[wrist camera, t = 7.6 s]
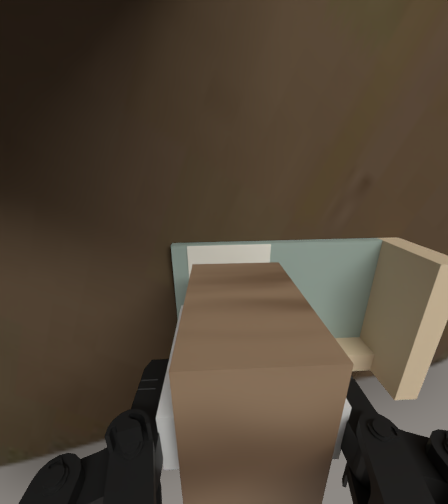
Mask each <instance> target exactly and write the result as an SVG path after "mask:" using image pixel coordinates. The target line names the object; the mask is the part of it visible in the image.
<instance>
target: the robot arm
mask: <svg viewBox="0 0 448 504" xmlns="http://www.w3.org/2000/svg"><path fill="white" fill-rule="evenodd" d="M182 310H183V305H181V309H180V313H179V317H178V322H177V326H176V331H175V335H174V340H173V344H172V348H171V353H170V357H169V359H161V360H151V362H150V363H149V364H148V365H147V367H146V368H145V369H144V372H143V375H142V378H141V382H140V384H139V387H138V391H137V393H136V396H135V399H134V402H133V404H132V407H131V409H130V410H127V411H125V412H123V413H121V414H120V415H119V416H117V417H116V418H115V419H114V420H113V421H112V423H111V424H110V425H109V427H108V428H107V431H106V434H105V440H106V443H107V448H105V449H104V450H101V451H99V452H97V453H94V454H92V455H90V456H87V457H85V458H82V459H80V458H79V457H77V455H76V454H71V453H66V454H62V455H59V456H57V457H55V458H54V459H52V460H50V461H49V462H48V463H47V464H46V465H45V466H43V467H42V468H41V469H40V470H39V471H38V473H37V474H36V476H35V477H34V478H33V480H32V481H31V483H30V485H29V486H28V488H27V490H26V492H25V493H24V495H23V497H22V499H21V500H20V502H19V504H162V496H161V483H160V476H161V470H162V464H163V468H164V470H174V469H179V460H178V451H177V442H176V433H175V424H174V415H173V406H172V397H171V388H170V379H169V369H170V364H171V359H172V355H173V350H174V346H175V341H176V337H177V332H178V328H179V323H180V319H181V314H182ZM341 449H342V451H343V454H344V456H345V458H346V460H347V464H346V467H345V471H344V475H343V478H342V483H343V487H346V485H347V482H348V483H349V488H350V492H351V496H352V500H353V504H448V431H446V430H439V429H438V430H435V431H432V434H431V436H430V438H428V437H424V436H420V435H416V434H413V433H409V432H405V431H403V430H400V429H398V428H397V427H396V426H395V425H394V424H393V423H392V422H391V421H390V420H389V419H387V418H385V417H384V416H382V415H380V414H378V413H377V412H376V410H375V409H374V408H373V406H372V405H371V403H370V402H369V400H368V399H367V397H366V396H365V394H364V393H363V391H362V390H361V388H360V387H359V385H358V384H357V382H356V381H355V379H353V376H352V375H351V378H350V383H349V387H348V391H347V396H346V400H345V404H344V409H343V413H342V417H341V422H340V426H339V430H338V435H337V439H336V444H335V448H334V452H333V457H332V459H338V458H339V455H340V451H341Z"/></svg>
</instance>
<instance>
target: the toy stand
mask: <svg viewBox="0 0 448 504" xmlns="http://www.w3.org/2000/svg"><path fill="white" fill-rule="evenodd" d="M171 253H172V264H173V275H174V286H175V296H176V307H177V318H178V317H179V313H180V309H181V305H184V301H185V296H186V291H187V287H188V282H189V278H190V273H191V269H192V264H227V263H270V262H279V263H280V265H281V266H282V267H283V269H284V270H285V272H286V273H287V274H288V276H289V277H290V278H291V280H292V281H293V282H294V284H295V285H296V286H297V288H298V289H299V290H300V292H301V293H302V295H303V296H304V297H305V299H306V300H307V301H308V303H309V304H310V305H311V307H312V308H313V309H314V311H315V312H316V314H317V315H318V316H319V318H320V319H321V320H322V322H323V323H324V324H325V326H326V327H327V328H328V330H329V331H330V333H331V334H332V335H333V337H334V338H335V339H336V341H337V342H338V343H339V345H340V346H341V347H342V349H343V350H344V352H345V353H346V354H347V356H348V357H349V358H350V360H351V361H352V362H353V364H354V365H353V370H352V371H363V370H371V371H372V373H373V374H374V375H375V377H376V378H377V379H378V380H379V382H380V383H381V384H382V385H383V387H384V388H385V389H386V390H387V391H388V393H389V394H390V395H391V397H392V398H393V399H394V400H406V399H417V397H418V394H419V392H420V389H421V387H422V384H423V382H424V379H425V376H426V374H427V371H428V369H429V366H430V364H431V361H432V358H433V356H434V353H435V351H436V348H437V346H438V343H439V340H440V338H441V335H442V333H443V330H444V328H445V325H446V322H447V320H448V256H447V255H444V254H442V253H439V252H436V251H433V250H431V249H428V248H425V247H422V246H420V245H417V244H414V243H411V242H409V241H406V240H403V239H400V238H398V237H397V238H357V239H317V240H277V241H237V242H198V243H172V244H171Z"/></svg>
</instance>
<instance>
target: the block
mask: <svg viewBox="0 0 448 504" xmlns="http://www.w3.org/2000/svg"><path fill="white" fill-rule="evenodd" d="M353 365H354V364H353V362H352V361H351V360H350V358H349V357H348V356H347V354H346V353H345V352H344V350H343V349H342V347H341V346H340V345H339V343H338V342H337V341H336V339H335V338H334V337H333V335H332V334H331V333H330V331H329V330H328V328H327V327H326V326H325V324H324V323H323V322H322V320H321V319H320V318H319V316H318V315H317V314H316V312H315V311H314V309H313V308H312V307H311V305H310V304H309V303H308V301H307V300H306V299H305V297H304V296H303V295H302V293H301V292H300V290H299V289H298V288H297V286H296V285H295V284H294V282H293V281H292V280H291V278H290V277H289V276H288V274H287V273H286V272H285V270H284V269H283V267H282V266H281V265H280V263H279V262H270V263H227V264H192V269H191V273H190V278H189V282H188V287H187V291H186V296H185V301H184V305H183V310H182V314H181V319H180V323H179V328H178V332H177V337H176V341H175V346H174V350H173V355H172V359H171V364H170V369H169V379H170V388H171V397H172V406H173V415H174V424H175V433H176V442H177V451H178V460H179V469H180V478H181V486H182V496H183V504H322V500H323V496H324V491H325V487H326V482H327V478H328V474H329V469H330V465H331V461H332V457H333V452H334V448H335V444H336V439H337V435H338V430H339V426H340V422H341V417H342V413H343V409H344V404H345V400H346V396H347V391H348V387H349V383H350V378H351V374H352V370H353Z"/></svg>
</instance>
